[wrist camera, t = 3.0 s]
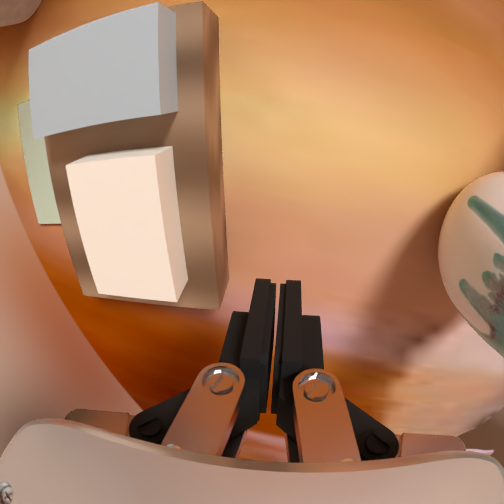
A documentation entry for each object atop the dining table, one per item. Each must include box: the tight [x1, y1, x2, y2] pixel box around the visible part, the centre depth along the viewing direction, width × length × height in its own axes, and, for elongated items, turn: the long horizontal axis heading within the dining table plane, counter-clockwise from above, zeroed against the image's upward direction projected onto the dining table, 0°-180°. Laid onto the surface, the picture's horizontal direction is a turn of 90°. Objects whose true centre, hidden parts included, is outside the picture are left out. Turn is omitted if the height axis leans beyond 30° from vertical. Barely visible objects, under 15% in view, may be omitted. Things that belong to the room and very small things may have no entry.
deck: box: [44, 1, 229, 310], centre depth 19 cm, size 20×12×4 cm, turn 1°
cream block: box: [66, 146, 188, 302], centre depth 17 cm, size 9×6×2 cm, turn 1°
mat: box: [18, 100, 61, 224], centre depth 21 cm, size 12×7×1 cm, turn 1°
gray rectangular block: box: [29, 2, 178, 139], centre depth 13 cm, size 9×6×2 cm, turn 91°
